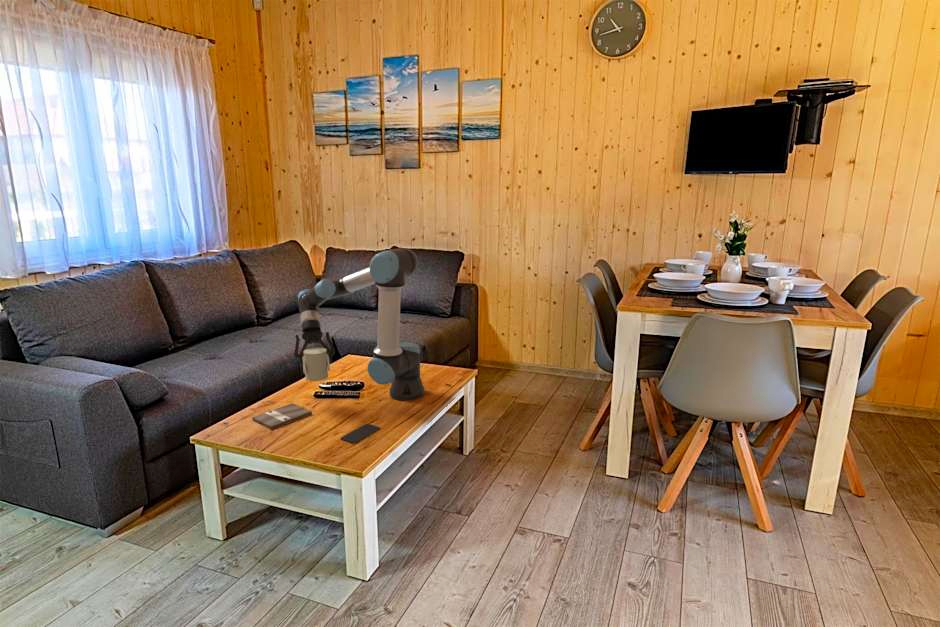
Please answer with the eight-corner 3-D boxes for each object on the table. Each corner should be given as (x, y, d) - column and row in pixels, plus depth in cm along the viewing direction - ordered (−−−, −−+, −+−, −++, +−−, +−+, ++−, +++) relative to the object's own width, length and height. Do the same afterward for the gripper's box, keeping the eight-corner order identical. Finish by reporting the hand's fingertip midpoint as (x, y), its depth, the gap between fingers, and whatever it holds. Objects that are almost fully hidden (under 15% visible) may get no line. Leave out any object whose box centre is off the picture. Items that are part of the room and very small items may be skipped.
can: (322, 381, 224) (320, 353, 221) (301, 380, 225) (298, 352, 222) (332, 374, 232) (330, 346, 229) (311, 372, 234) (309, 345, 231)
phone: (381, 427, 210) (354, 443, 197) (381, 429, 210) (354, 445, 197) (366, 423, 213) (339, 438, 201) (366, 425, 213) (339, 440, 201)
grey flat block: (311, 414, 222) (311, 410, 221) (271, 429, 208) (271, 425, 208) (292, 405, 230) (292, 402, 229) (252, 420, 216) (252, 416, 216)
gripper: (335, 325, 242) (343, 371, 232) (283, 330, 235) (289, 378, 224) (336, 316, 236) (344, 363, 226) (283, 321, 229) (289, 370, 218)
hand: (317, 370), depth 225 cm, fingers closed on can, 9 cm apart
